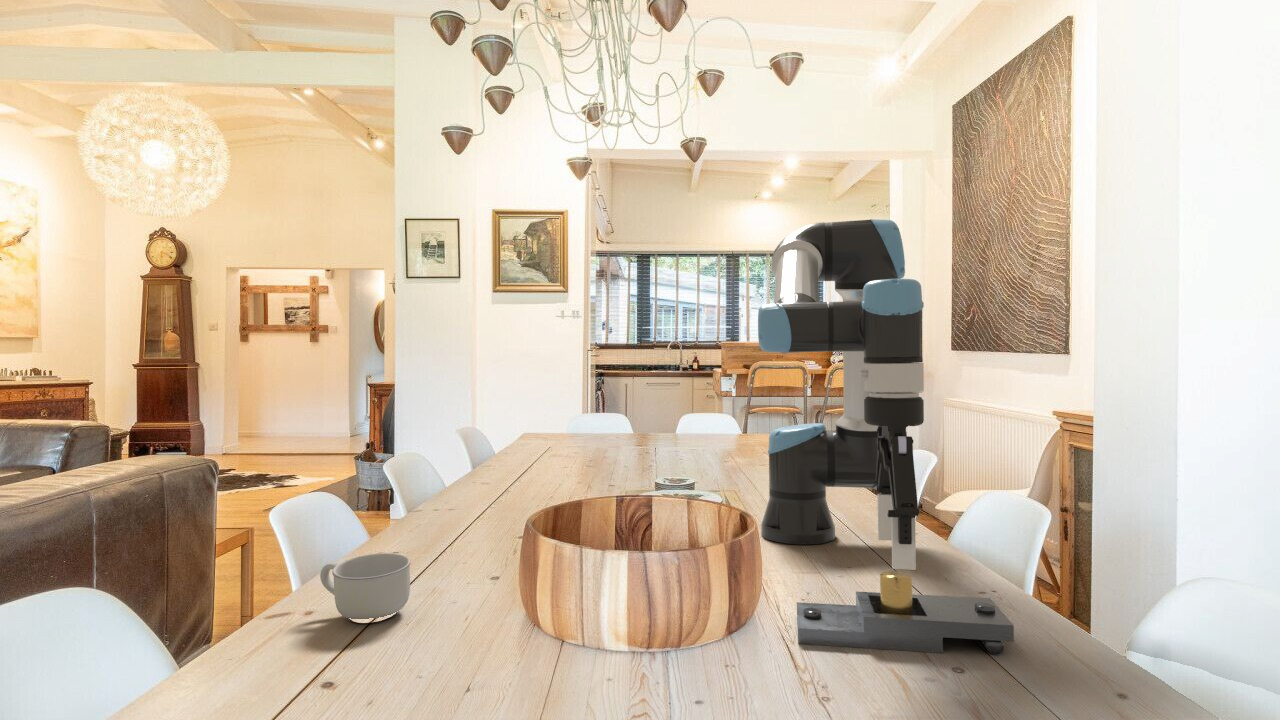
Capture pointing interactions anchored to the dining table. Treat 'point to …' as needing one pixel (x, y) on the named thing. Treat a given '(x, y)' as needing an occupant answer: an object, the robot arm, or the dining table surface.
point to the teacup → (369, 584)
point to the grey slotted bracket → (904, 623)
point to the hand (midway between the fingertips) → (895, 553)
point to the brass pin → (896, 593)
